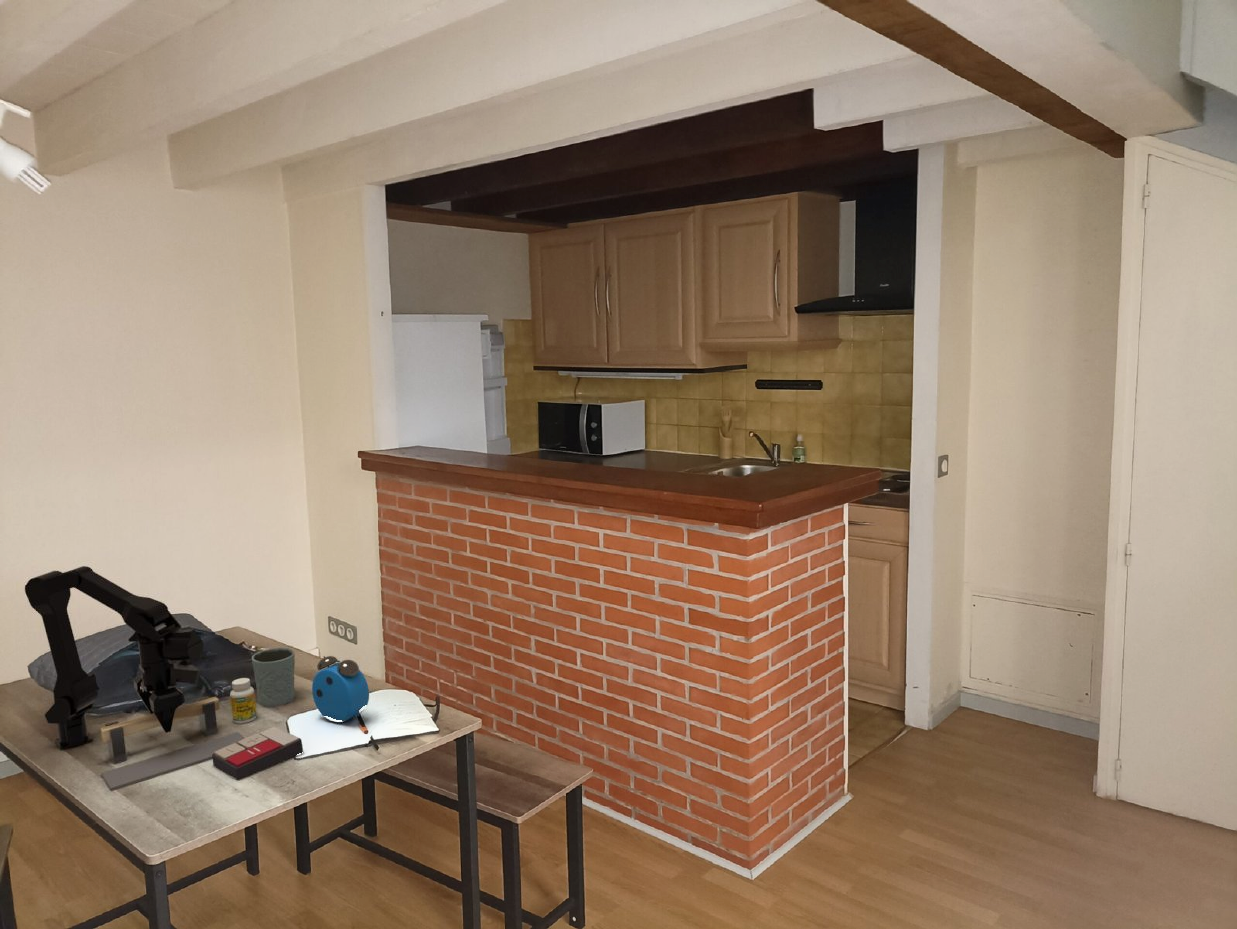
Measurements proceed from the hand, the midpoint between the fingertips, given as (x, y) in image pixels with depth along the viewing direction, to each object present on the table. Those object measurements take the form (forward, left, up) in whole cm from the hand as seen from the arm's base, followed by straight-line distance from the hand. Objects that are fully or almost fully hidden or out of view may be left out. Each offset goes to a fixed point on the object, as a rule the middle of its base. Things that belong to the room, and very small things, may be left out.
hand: (162, 725), depth 204 cm
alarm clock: (+16, +35, -5) cm, 39 cm away
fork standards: (0, 0, -4) cm, 4 cm away
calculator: (+23, +13, -5) cm, 27 cm away
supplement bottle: (-1, +18, -5) cm, 19 cm away
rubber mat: (+11, 0, -4) cm, 12 cm away
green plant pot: (-7, +28, -5) cm, 29 cm away
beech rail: (0, 0, +1) cm, 1 cm away
